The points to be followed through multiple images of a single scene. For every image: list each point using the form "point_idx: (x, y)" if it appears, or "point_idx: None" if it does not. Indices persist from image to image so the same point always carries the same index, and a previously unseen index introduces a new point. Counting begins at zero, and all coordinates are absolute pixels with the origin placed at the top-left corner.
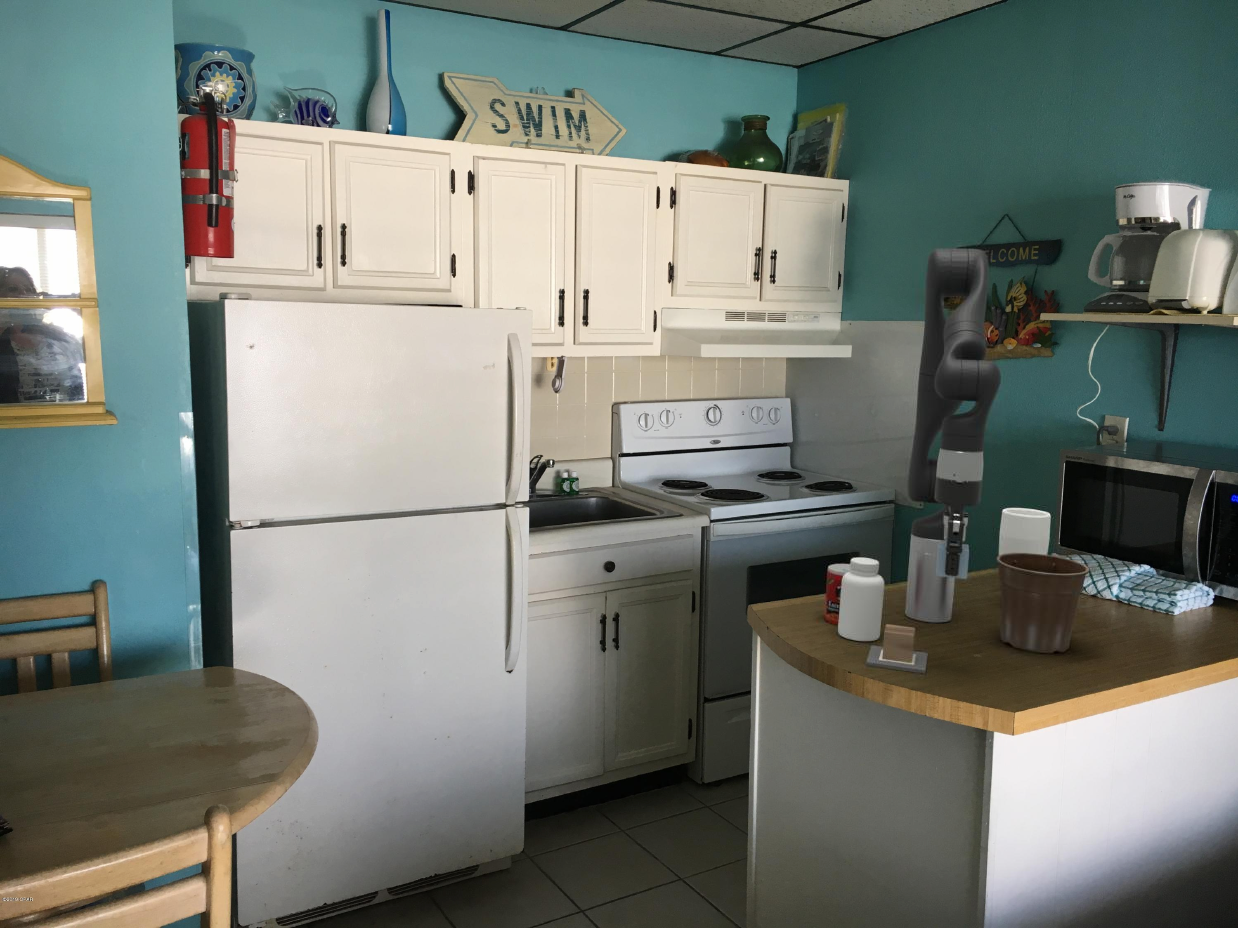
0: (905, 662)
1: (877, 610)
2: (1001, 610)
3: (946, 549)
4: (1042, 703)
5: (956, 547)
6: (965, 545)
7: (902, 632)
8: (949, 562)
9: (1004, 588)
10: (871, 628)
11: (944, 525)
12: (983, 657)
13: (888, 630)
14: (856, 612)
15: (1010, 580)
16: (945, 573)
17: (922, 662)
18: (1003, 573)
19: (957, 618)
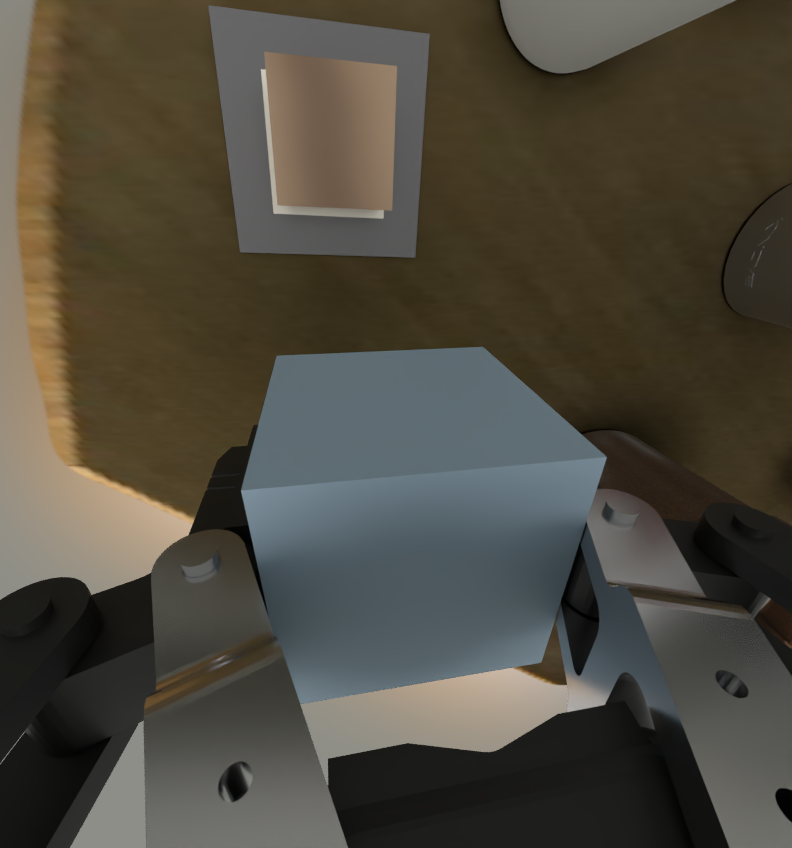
0: None
1: (583, 8)
2: (641, 466)
3: (7, 614)
4: (187, 509)
5: (31, 731)
6: (502, 655)
7: (298, 152)
8: (207, 507)
9: (672, 515)
10: (526, 13)
11: (704, 783)
12: None
13: (297, 77)
14: None
15: None
16: (256, 427)
17: (315, 242)
18: None
19: (760, 332)
